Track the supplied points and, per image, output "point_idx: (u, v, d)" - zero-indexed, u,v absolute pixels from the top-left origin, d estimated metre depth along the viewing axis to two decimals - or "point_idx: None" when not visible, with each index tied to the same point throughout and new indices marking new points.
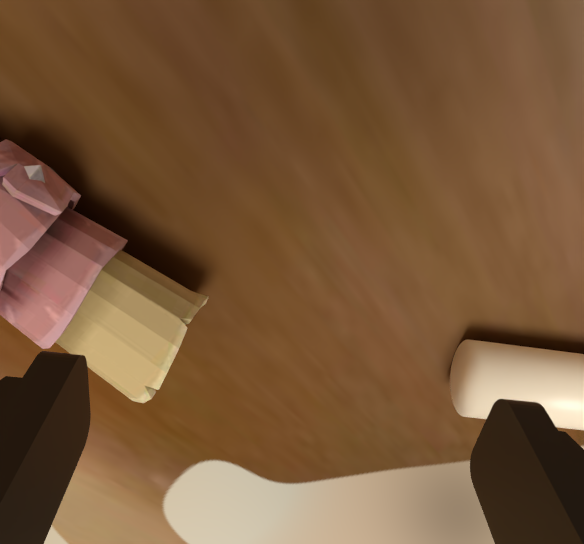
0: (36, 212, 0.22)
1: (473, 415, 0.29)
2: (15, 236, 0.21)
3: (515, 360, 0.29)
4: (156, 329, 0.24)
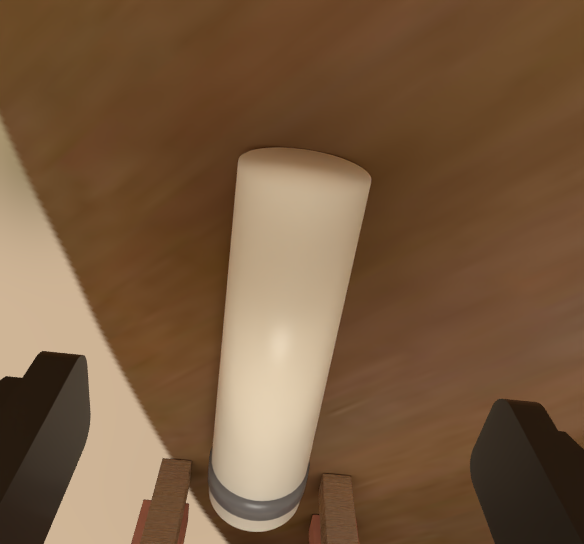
0: None
1: (269, 191, 0.15)
2: None
3: (357, 238, 0.18)
4: None
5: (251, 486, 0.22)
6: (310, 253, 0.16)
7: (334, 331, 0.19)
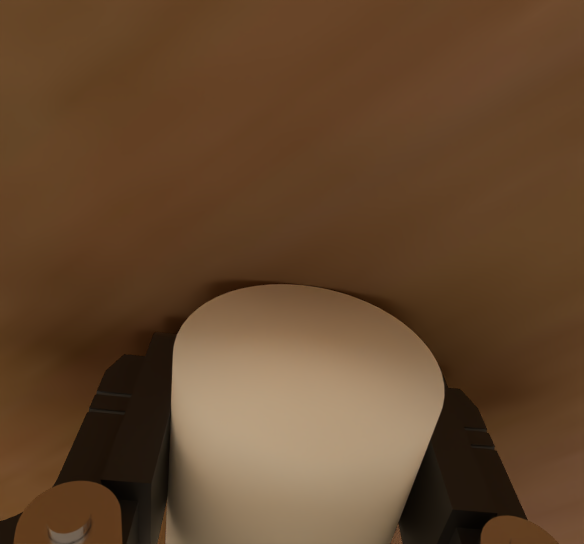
0: None
1: (232, 449, 0.07)
2: None
3: None
4: None
5: None
6: None
7: None
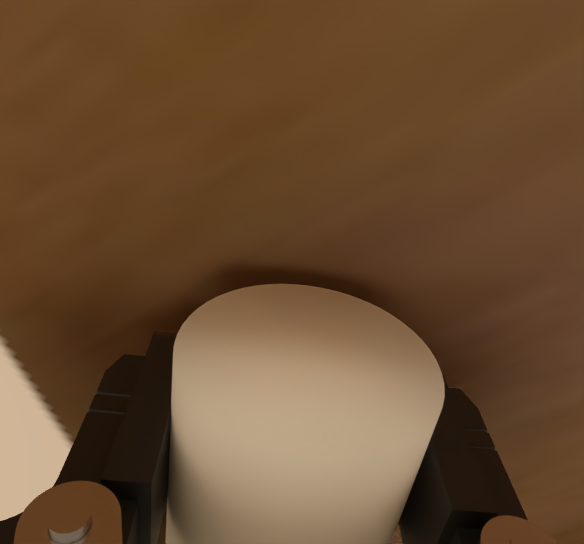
0: None
1: (232, 449, 0.07)
2: None
3: None
4: None
5: None
6: None
7: None
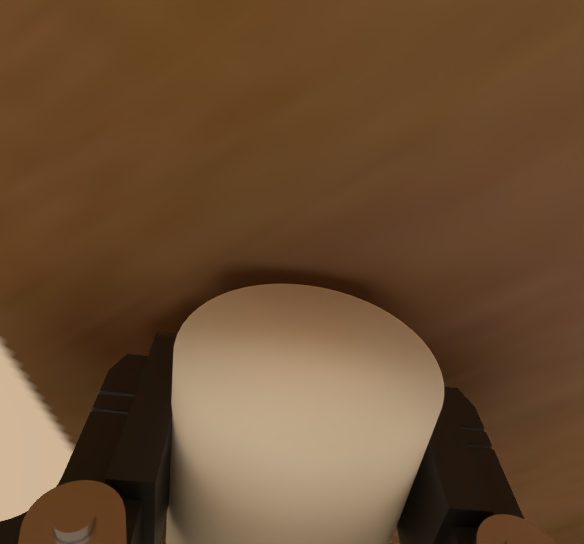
0: None
1: (232, 448, 0.07)
2: None
3: None
4: None
5: None
6: None
7: None
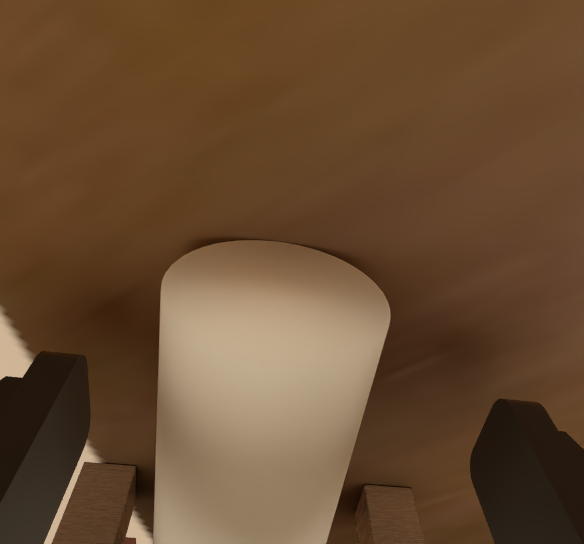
0: None
1: (192, 347, 0.09)
2: None
3: (362, 413, 0.10)
4: None
5: None
6: (266, 452, 0.09)
7: (319, 543, 0.12)
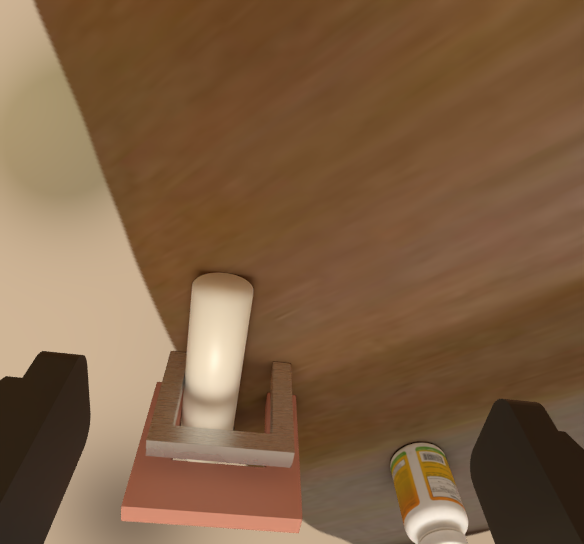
0: None
1: (193, 294, 0.36)
2: None
3: (237, 326, 0.37)
4: None
5: None
6: (205, 324, 0.36)
7: (226, 367, 0.38)
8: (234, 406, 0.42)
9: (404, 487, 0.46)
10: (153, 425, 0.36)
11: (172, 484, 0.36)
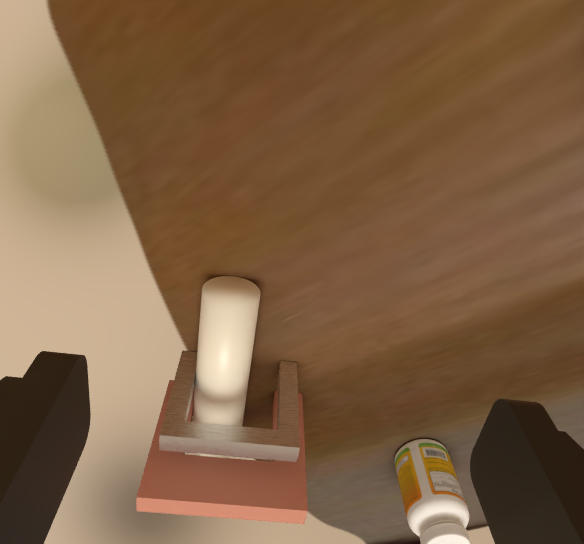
0: None
1: (203, 297, 0.38)
2: None
3: (245, 327, 0.39)
4: None
5: None
6: (214, 326, 0.38)
7: (234, 366, 0.40)
8: (243, 403, 0.44)
9: (407, 481, 0.48)
10: (166, 421, 0.38)
11: (184, 477, 0.38)
